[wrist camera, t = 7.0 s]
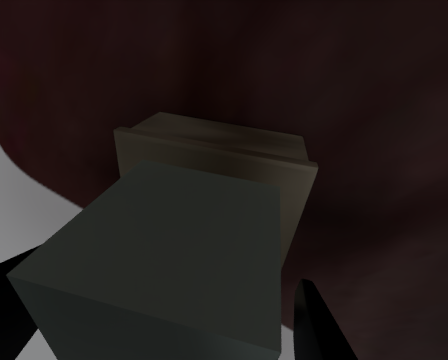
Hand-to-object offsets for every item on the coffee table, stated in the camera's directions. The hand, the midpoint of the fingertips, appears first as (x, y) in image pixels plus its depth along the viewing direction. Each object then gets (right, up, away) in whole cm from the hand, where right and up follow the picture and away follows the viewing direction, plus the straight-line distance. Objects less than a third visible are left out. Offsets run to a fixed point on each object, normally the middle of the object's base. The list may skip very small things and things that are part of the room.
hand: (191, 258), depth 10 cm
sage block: (0, +1, +2) cm, 2 cm away
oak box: (+1, +3, +5) cm, 6 cm away
